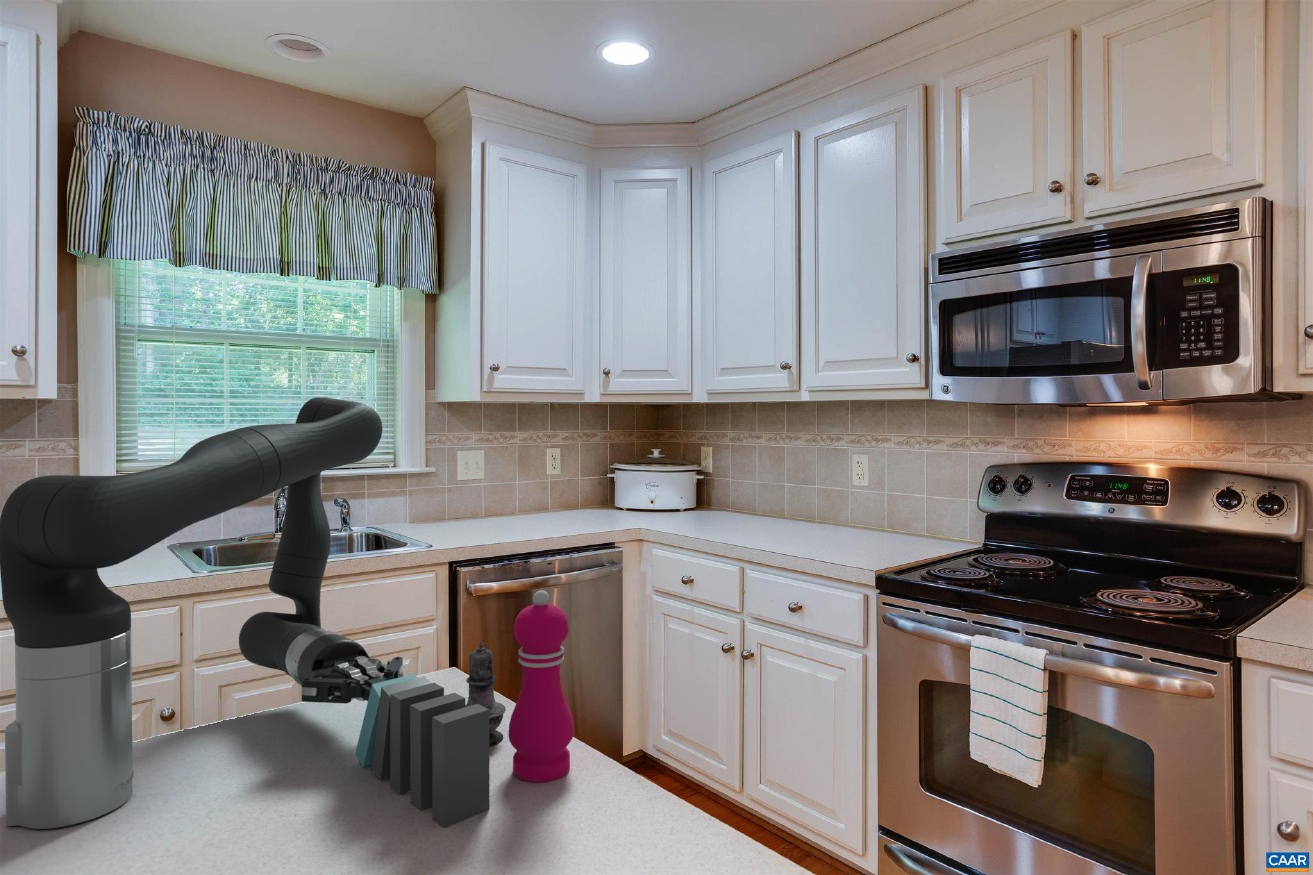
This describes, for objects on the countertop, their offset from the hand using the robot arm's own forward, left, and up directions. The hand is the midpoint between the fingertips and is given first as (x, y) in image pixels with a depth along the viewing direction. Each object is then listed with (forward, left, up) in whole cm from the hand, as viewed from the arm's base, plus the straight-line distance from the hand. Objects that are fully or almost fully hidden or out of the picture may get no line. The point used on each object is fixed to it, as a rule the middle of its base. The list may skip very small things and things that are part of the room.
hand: (387, 696), depth 85 cm
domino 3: (+3, -6, -8) cm, 10 cm away
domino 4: (+6, -10, -8) cm, 14 cm away
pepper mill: (+17, -6, -8) cm, 19 cm away
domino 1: (-1, +1, -7) cm, 7 cm away
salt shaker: (+10, +4, -8) cm, 14 cm away
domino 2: (+1, -2, -7) cm, 8 cm away
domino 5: (+8, -14, -8) cm, 18 cm away
